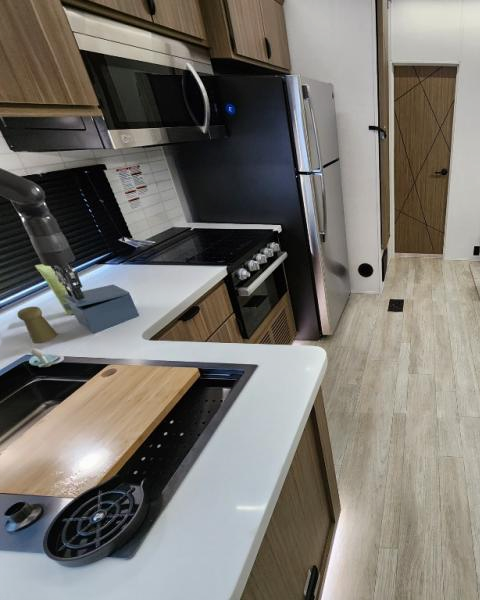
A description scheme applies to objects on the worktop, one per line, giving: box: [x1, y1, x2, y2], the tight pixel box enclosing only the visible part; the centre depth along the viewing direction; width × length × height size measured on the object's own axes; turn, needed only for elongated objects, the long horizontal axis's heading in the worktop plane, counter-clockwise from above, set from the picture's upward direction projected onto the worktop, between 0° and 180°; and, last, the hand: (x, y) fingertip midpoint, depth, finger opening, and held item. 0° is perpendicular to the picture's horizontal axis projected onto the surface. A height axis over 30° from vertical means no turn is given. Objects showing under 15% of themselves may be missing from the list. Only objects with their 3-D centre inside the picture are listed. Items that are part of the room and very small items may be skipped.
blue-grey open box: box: [68, 293, 140, 335], centre depth 116 cm, size 14×13×9 cm
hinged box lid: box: [61, 284, 131, 307], centre depth 112 cm, size 14×13×5 cm
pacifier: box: [28, 347, 65, 368], centre depth 95 cm, size 7×6×6 cm
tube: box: [34, 263, 74, 315], centre depth 119 cm, size 6×5×20 cm
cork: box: [17, 306, 58, 344], centre depth 106 cm, size 6×6×11 cm
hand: (77, 297), depth 109 cm, fingers closed on hinged box lid, 5 cm apart
